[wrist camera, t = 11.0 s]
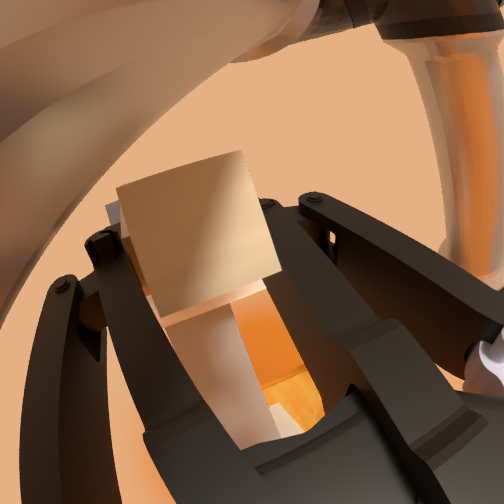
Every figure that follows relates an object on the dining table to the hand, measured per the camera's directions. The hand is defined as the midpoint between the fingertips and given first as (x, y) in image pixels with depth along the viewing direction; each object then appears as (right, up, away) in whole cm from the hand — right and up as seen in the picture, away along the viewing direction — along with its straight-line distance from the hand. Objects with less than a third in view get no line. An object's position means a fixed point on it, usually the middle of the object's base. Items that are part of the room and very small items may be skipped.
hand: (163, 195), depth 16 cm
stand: (+6, -36, +23) cm, 43 cm away
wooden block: (0, -4, +4) cm, 5 cm away
